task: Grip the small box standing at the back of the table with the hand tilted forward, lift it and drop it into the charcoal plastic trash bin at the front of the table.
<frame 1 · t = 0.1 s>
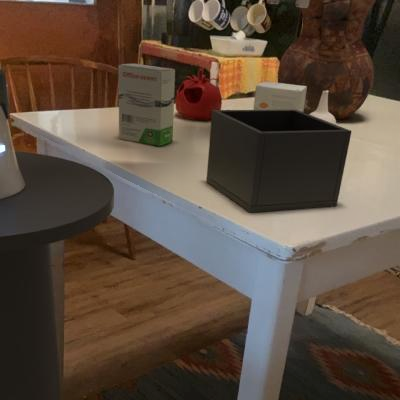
hand: (286, 5, 106), 22 cm above the table, tool pointing down, fingers open, 8 cm apart
ink box: (145, 141, 107), on the table
trash bin: (269, 193, 86), on the table
garlic bulb: (318, 134, 123), on the table
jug: (318, 114, 141), on the table
small box: (273, 150, 108), on the table
pomegranate: (197, 118, 127), on the table
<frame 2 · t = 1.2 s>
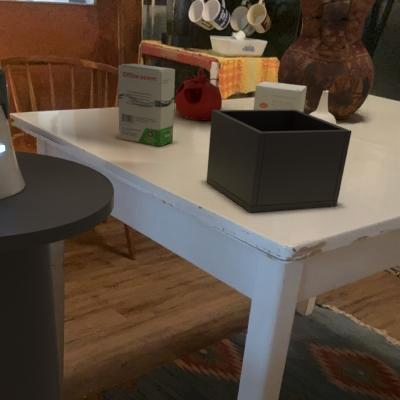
nothing on the table moved.
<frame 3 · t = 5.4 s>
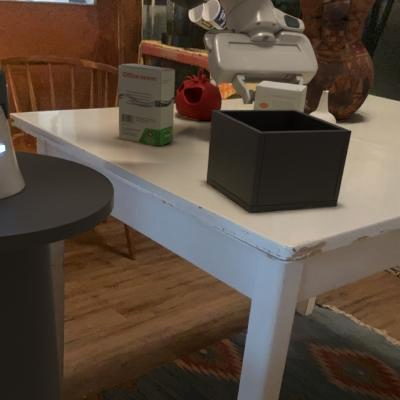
hand: (274, 102, 105), 8 cm above the table, tool tilted 45°, fingers open, 8 cm apart
small box: (273, 150, 108), on the table, touching gripper
everything else where it was.
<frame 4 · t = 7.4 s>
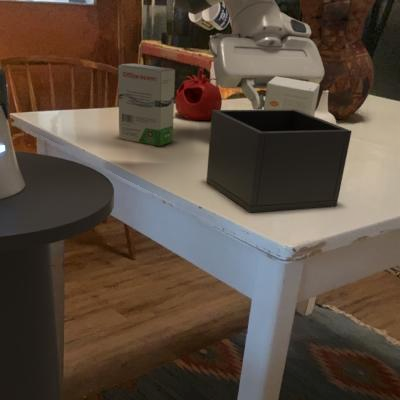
hand: (280, 107, 104), 7 cm above the table, tool tilted 45°, fingers closed on small box, 7 cm apart
small box: (283, 148, 107), point 1 cm above the table, touching gripper
everything else where it was.
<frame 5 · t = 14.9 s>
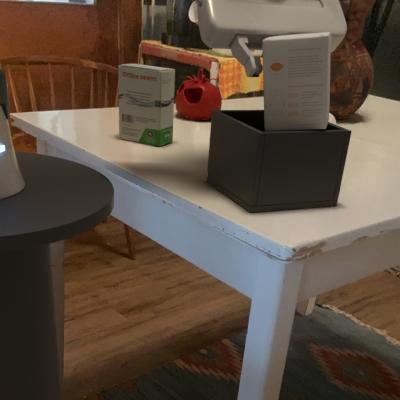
hand: (288, 74, 77), 15 cm above the table, tool tilted 45°
small box: (296, 128, 79), point 9 cm above the table, touching gripper, trash bin
everything else where it was.
when the fingers open (17 cm above the table, at t = 15.5 s): small box drops 8 cm, resting on trash bin.
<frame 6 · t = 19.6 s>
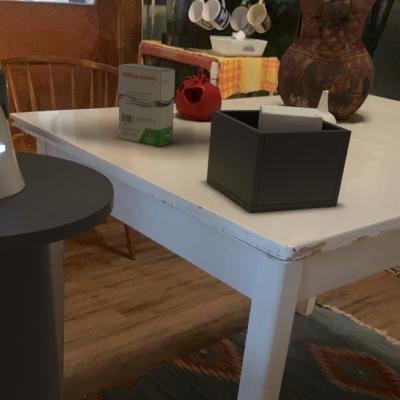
small box: (279, 191, 85), point 1 cm above the table, touching trash bin
everything else where it was.
at the end: small box inside the target area in the trash bin (1.4 cm from its centre), point 0.6 cm above the trash bin's base; the gripper is holding nothing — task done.
